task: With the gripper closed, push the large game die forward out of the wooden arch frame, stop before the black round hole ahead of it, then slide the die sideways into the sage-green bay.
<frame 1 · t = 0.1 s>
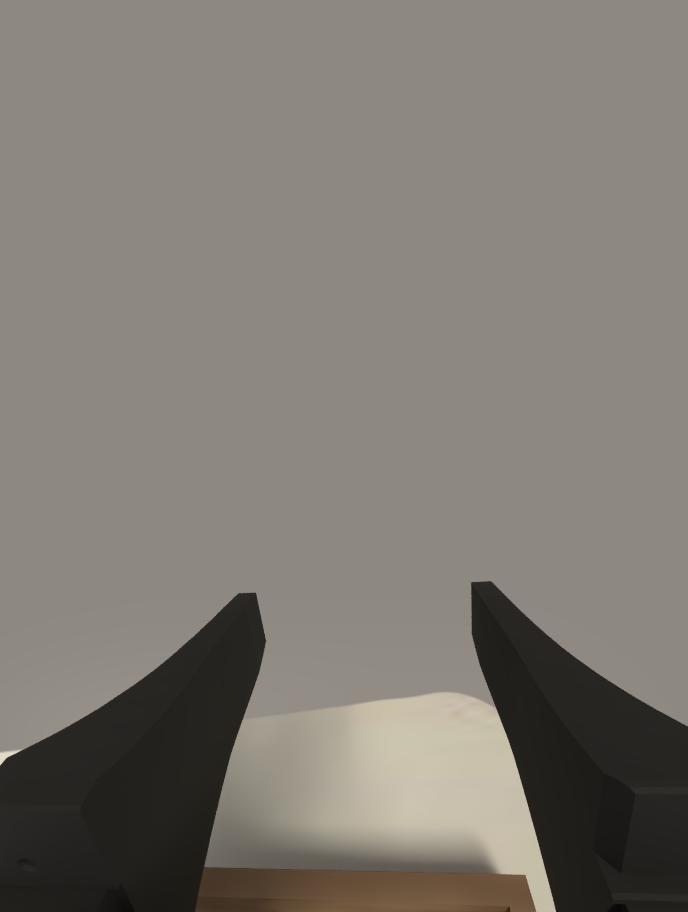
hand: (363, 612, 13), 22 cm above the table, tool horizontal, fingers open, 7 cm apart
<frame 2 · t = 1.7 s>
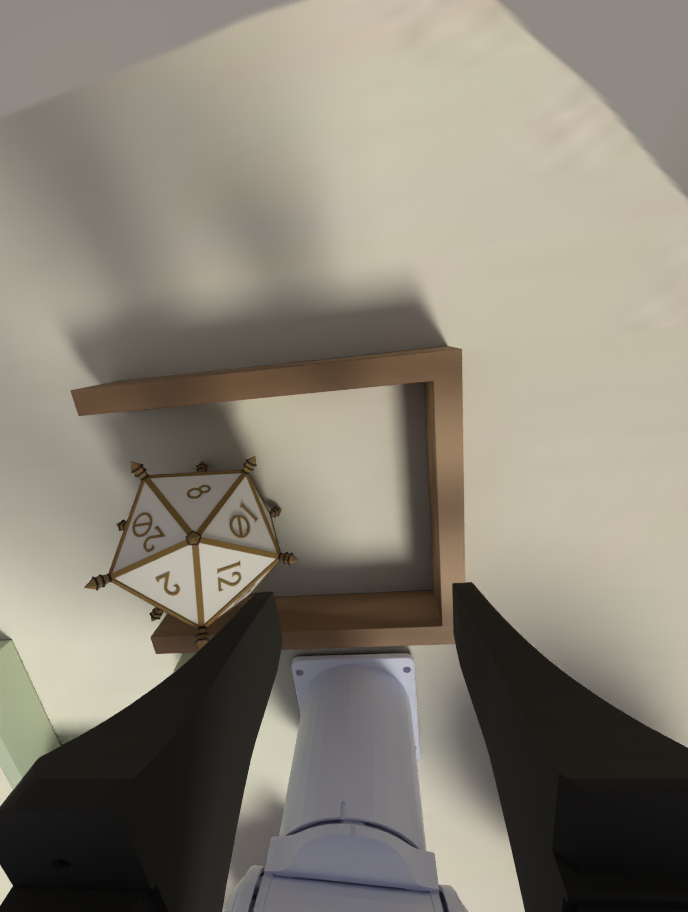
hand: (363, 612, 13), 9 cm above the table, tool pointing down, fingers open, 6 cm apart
game die: (231, 504, 23), on the table
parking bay: (125, 702, 28), on the table
wooden arch frame: (297, 501, 22), on the table
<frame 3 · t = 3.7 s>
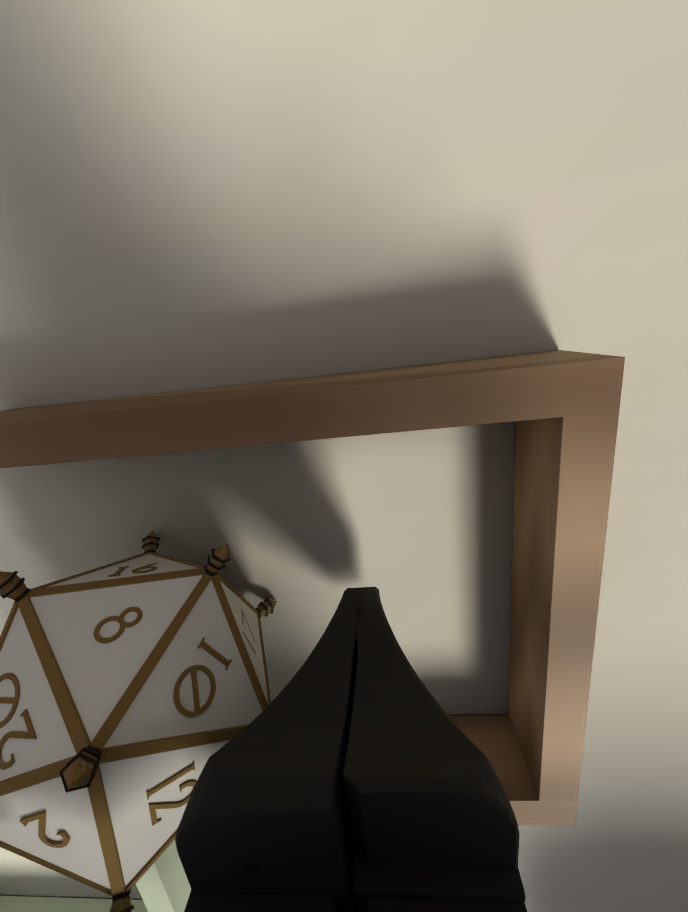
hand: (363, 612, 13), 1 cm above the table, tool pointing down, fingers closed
game die: (200, 590, 15), on the table, touching gripper
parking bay: (66, 842, 20), on the table
wooden arch frame: (303, 589, 14), on the table
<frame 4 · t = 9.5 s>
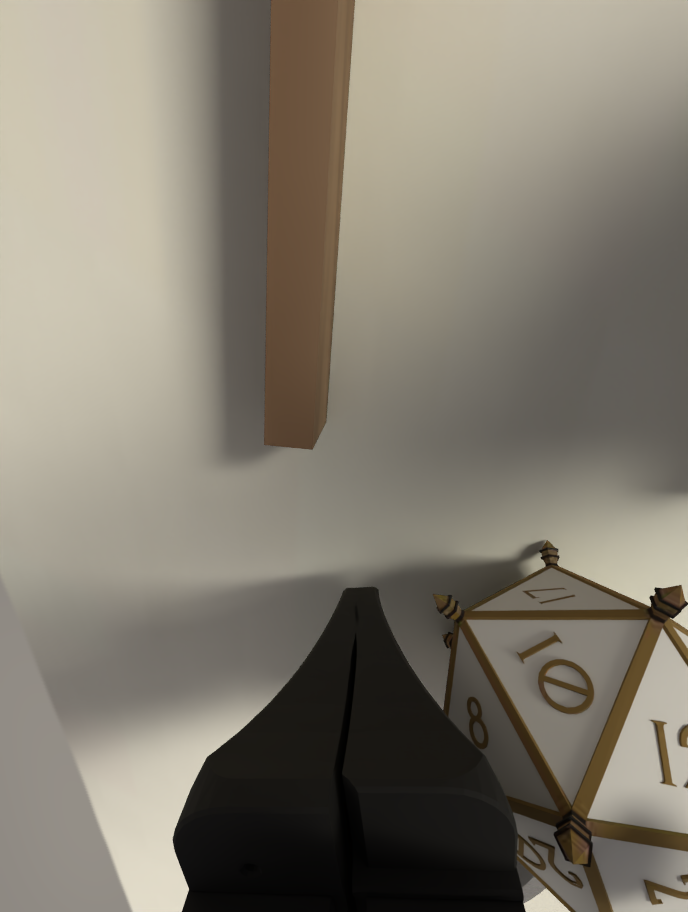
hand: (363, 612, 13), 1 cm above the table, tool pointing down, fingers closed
hole: (433, 841, 18), on the table
game die: (520, 608, 14), on the table, touching gripper
wooden arch frame: (622, 79, 9), on the table
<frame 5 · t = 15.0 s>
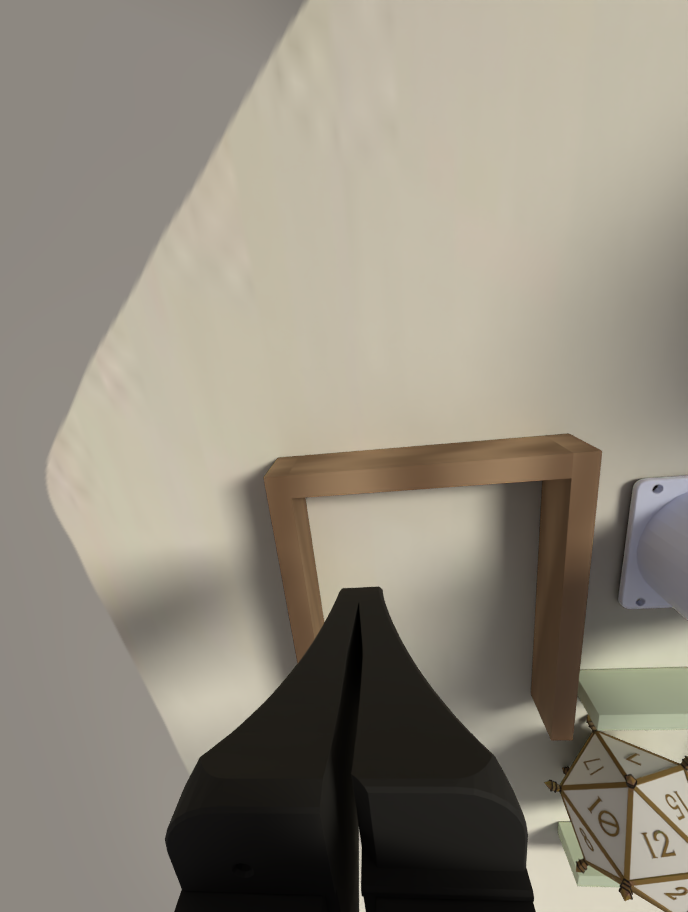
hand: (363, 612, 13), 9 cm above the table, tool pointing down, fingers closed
game die: (594, 742, 27), on the table
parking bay: (656, 758, 26), on the table
wooden arch frame: (425, 583, 23), on the table
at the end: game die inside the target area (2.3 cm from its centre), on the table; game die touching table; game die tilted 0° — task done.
